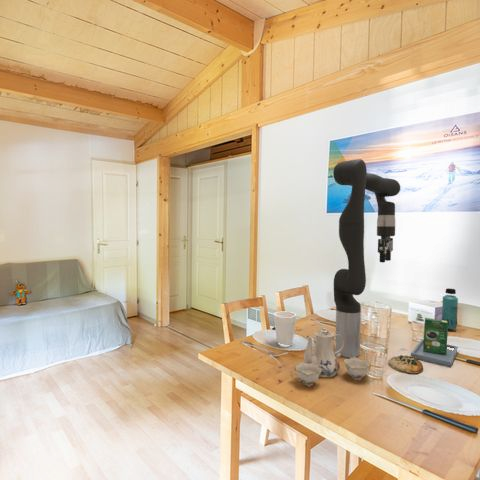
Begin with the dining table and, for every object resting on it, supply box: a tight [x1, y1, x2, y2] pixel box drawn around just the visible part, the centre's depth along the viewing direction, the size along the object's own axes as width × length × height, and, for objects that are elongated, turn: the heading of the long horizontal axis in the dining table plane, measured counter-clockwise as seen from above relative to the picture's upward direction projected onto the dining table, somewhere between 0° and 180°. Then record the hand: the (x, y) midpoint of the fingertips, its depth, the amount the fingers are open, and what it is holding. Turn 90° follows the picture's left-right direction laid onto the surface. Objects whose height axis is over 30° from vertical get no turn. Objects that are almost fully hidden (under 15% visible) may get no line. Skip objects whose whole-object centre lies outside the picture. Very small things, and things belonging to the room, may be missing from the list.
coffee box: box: [423, 317, 449, 355], centre depth 129 cm, size 8×3×13 cm, turn 60°
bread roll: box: [387, 354, 424, 375], centre depth 118 cm, size 11×11×5 cm
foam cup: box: [273, 310, 297, 345], centre depth 139 cm, size 10×9×13 cm
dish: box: [410, 338, 459, 369], centre depth 129 cm, size 19×13×2 cm
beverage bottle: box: [441, 288, 459, 330], centre depth 158 cm, size 6×7×20 cm
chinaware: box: [290, 325, 372, 387], centre depth 111 cm, size 28×17×17 cm, turn 108°
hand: (385, 261), depth 149 cm, fingers open, 8 cm apart
